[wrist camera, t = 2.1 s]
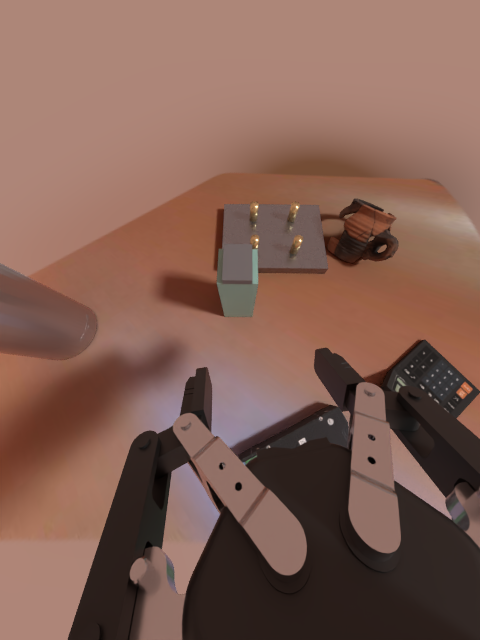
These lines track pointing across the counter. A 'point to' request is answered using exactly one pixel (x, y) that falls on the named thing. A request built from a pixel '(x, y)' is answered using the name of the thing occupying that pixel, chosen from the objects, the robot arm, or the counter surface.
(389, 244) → the pottery mug
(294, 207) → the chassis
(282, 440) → the disk drive
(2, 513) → the counter surface
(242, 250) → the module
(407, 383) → the calculator
